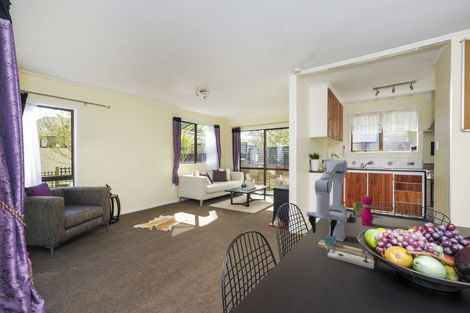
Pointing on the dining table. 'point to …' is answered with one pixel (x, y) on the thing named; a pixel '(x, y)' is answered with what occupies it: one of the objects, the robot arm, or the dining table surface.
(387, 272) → the dining table surface
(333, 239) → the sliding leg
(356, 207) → the crayon box
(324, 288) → the dining table surface
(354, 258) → the bolt plate
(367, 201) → the pepper mill
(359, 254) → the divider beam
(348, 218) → the calculator
